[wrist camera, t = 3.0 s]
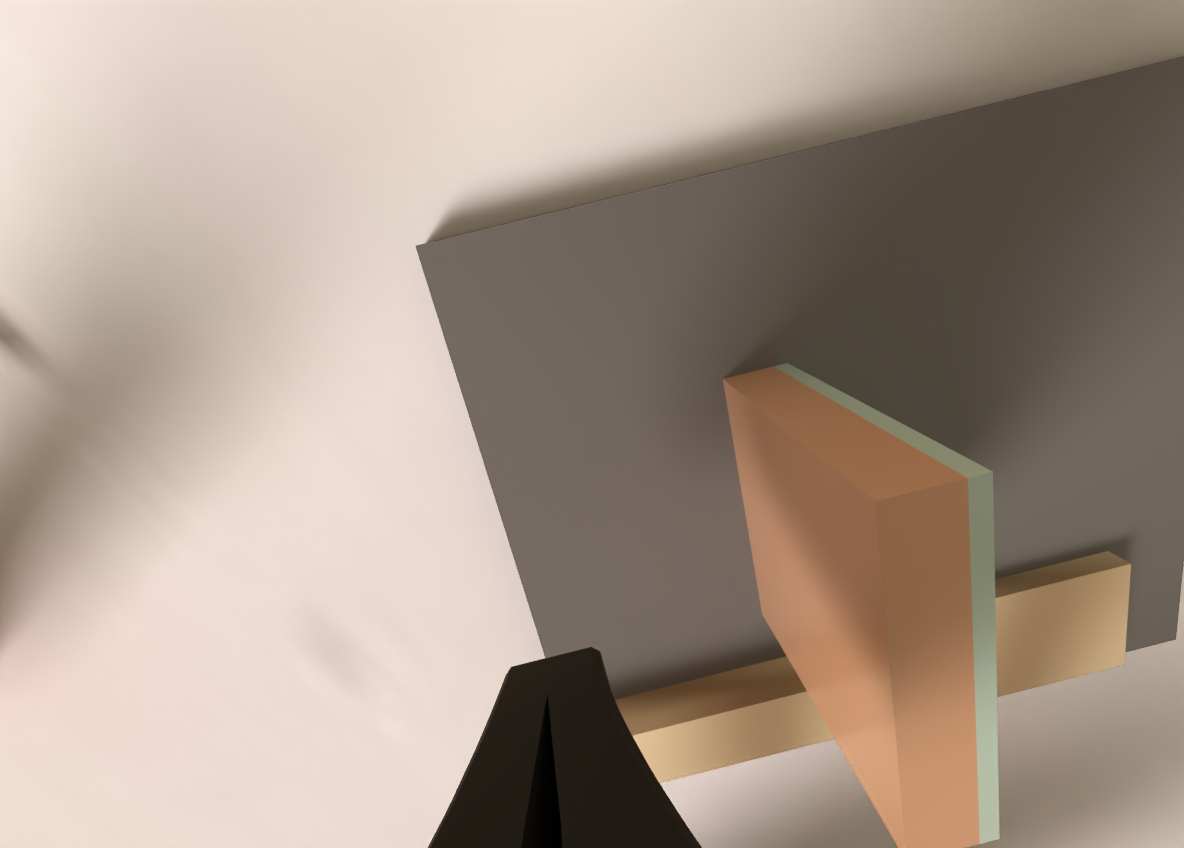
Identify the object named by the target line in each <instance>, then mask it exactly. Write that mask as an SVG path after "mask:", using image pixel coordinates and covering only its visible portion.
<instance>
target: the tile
mask: <svg viewBox="0 0 1184 848" xmlns="http://www.w3.org/2000/svg"><path fill="white" fill-rule="evenodd" d="M723 384H724V390H725V396H726V402H727V408H728V414H729V420H730V426H731V432H732V437H733V443H734V449H735V455H736V461H737V467H738V473H739V479H740V485H741V491H742V497H743V503H744V509H745V515H746V521H747V527H748V533H749V539H750V545H751V551H752V557H753V563H754V569H755V575H756V581H757V587H758V593H759V599H760V604H761V610H762V615H763V617H764V618H765V620H766V622H767V623H768V625H769V627H770V629H771V630H772V632H773V634H774V635H775V637H776V639H777V641H778V642H779V644H780V646H781V647H782V649H783V651H784V653H785V654H786V656H787V658H788V659H789V661H790V663H791V665H792V666H793V668H794V670H795V671H796V673H797V675H798V677H799V678H800V680H801V682H802V683H803V685H804V687H805V689H806V690H807V692H808V694H809V695H810V697H811V699H812V701H813V702H814V704H815V706H816V707H817V709H818V711H819V713H820V714H821V716H822V718H823V719H824V721H825V723H826V725H827V726H828V728H829V730H830V731H831V733H832V735H833V737H834V738H835V740H836V742H837V743H838V745H839V747H840V749H841V750H842V752H843V754H844V755H845V757H846V759H847V761H848V762H849V764H850V766H851V767H852V769H853V771H854V773H855V774H856V776H857V778H858V779H859V781H860V783H861V785H862V786H863V788H864V790H865V791H866V793H867V795H868V797H869V798H870V800H871V802H872V803H873V805H874V807H875V809H876V810H877V812H878V814H879V815H880V817H881V819H882V821H883V822H884V824H885V826H886V827H887V829H888V831H889V833H890V834H891V836H892V838H893V839H894V841H895V843H896V845H897V846H898V848H967V847H971V846H975V845H979V844H982V843H986V842H990V841H994V840H998V839H1000V834H999V778H998V721H997V665H996V608H995V552H994V496H993V471H991V470H989V469H987V468H985V467H983V466H981V465H979V464H978V463H976V462H974V461H972V460H970V459H968V458H966V457H964V456H962V455H961V454H959V453H957V452H955V451H953V450H951V449H949V448H947V447H945V446H944V445H942V444H940V443H938V442H936V441H934V440H932V439H930V438H928V437H927V436H925V435H923V434H921V433H919V432H917V431H915V430H913V429H911V428H909V427H908V426H906V425H904V424H902V423H900V422H898V421H896V420H894V419H892V418H891V417H889V416H887V415H885V414H883V413H881V412H879V411H877V410H875V409H874V408H872V407H870V406H868V405H866V404H864V403H862V402H860V401H858V400H857V399H855V398H853V397H851V396H849V395H847V394H845V393H843V392H841V391H840V390H838V389H836V388H834V387H832V386H830V385H828V384H826V383H824V382H822V381H821V380H819V379H817V378H815V377H813V376H811V375H809V374H807V373H805V372H804V371H802V370H800V369H798V368H796V367H794V366H792V365H790V364H788V363H785V364H781V365H777V366H773V367H769V368H765V369H761V370H757V371H753V372H749V373H745V374H741V375H737V376H733V377H729V378H725V379H723Z"/></svg>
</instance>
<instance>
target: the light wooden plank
mask: <svg viewBox="0 0 1184 848" xmlns="http://www.w3.org/2000/svg"><path fill="white" fill-rule="evenodd" d="M1130 574H1131V563H1129V562H1127V561H1125V560H1124V559H1122V558H1120V557H1118V556H1116V555H1115V554H1113V553H1111V552H1109V551H1106V552H1102V553H1098V554H1094V555H1090V556H1086V557H1082V558H1078V559H1075V560H1071V561H1067V562H1063V563H1059V564H1055V565H1051V566H1047V567H1043V568H1039V569H1035V570H1031V571H1027V572H1023V573H1019V574H1015V575H1011V576H1007V577H1003V578H1000V579H996V580H995V608H996V665H997V697H999V696H1003V695H1007V694H1011V693H1015V692H1019V691H1023V690H1026V689H1030V688H1034V687H1038V686H1042V685H1046V684H1050V683H1054V682H1058V681H1062V680H1066V679H1070V678H1074V677H1077V676H1081V675H1085V674H1089V673H1093V672H1097V671H1101V670H1105V669H1109V668H1113V667H1117V666H1121V665H1124V663H1125V649H1126V634H1127V619H1128V604H1129V589H1130ZM615 701H616V703H617V706H618V708H619V710H620V712H621V715H622V717H623V719H624V721H625V723H626V725H627V727H628V729H629V731H630V732H631V734H632V736H633V738H634V740H635V741H636V743H637V745H638V747H639V749H640V751H641V752H642V754H643V756H644V758H645V760H646V761H647V763H648V765H649V767H650V768H651V770H652V772H653V773H654V775H655V777H656V778H657V780H658V782H659V783H663V782H667V781H671V780H674V779H678V778H682V777H686V776H690V775H694V774H698V773H702V772H706V771H710V770H714V769H718V768H722V767H725V766H729V765H733V764H737V763H741V762H745V761H749V760H753V759H757V758H761V757H765V756H769V755H773V754H776V753H780V752H784V751H788V750H792V749H796V748H800V747H804V746H808V745H812V744H816V743H820V742H824V741H827V740H831V739H835V738H834V737H833V735H832V733H831V731H830V730H829V728H828V726H827V725H826V723H825V721H824V719H823V718H822V716H821V714H820V713H819V711H818V709H817V707H816V706H815V704H814V702H813V701H812V699H811V697H810V695H809V694H808V692H807V690H806V689H805V687H804V685H803V683H802V682H801V680H800V678H799V677H798V675H797V673H796V671H795V670H794V668H793V666H792V665H791V663H790V661H789V659H788V658H787V656H785V657H781V658H777V659H773V660H769V661H766V662H762V663H758V664H754V665H750V666H746V667H742V668H738V669H734V670H730V671H726V672H722V673H718V674H714V675H710V676H706V677H702V678H698V679H695V680H691V681H687V682H683V683H679V684H675V685H671V686H667V687H663V688H659V689H655V690H651V691H647V692H643V693H639V694H635V695H631V696H627V697H624V698H620V699H616V700H615Z"/></svg>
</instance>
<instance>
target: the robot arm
mask: <svg viewBox="0 0 1184 848" xmlns="http://www.w3.org/2000/svg"><path fill="white" fill-rule="evenodd" d="M428 848H702V847H701V846H700V844H699V843H698V842H697V840H696V839H695V837H694V836H693V834H692V833H691V831H690V830H689V828H688V827H687V825H686V824H685V822H684V821H683V819H682V818H681V816H680V815H679V813H678V812H677V810H676V809H675V807H674V805H673V804H672V802H671V801H670V799H669V798H668V796H667V795H666V793H665V791H664V790H663V788H662V787H661V785H660V783H659V782H658V780H657V778H656V777H655V775H654V773H653V772H652V770H651V768H650V767H649V765H648V763H647V761H646V760H645V758H644V756H643V754H642V752H641V751H640V749H639V747H638V745H637V743H636V741H635V740H634V738H633V736H632V734H631V732H630V731H629V729H628V727H627V725H626V723H625V721H624V719H623V717H622V715H621V712H620V710H619V708H618V706H617V703H616V701H615V699H614V697H613V694H612V691H611V688H610V684H609V681H608V677H607V673H606V670H605V666H604V663H603V659H602V655H601V652H600V651H598V650H597V649H595V648H593V647H589V648H585V649H581V650H577V651H573V652H569V653H565V654H561V655H557V656H553V657H549V658H545V659H541V660H537V661H533V662H529V663H525V664H521V665H517V666H513V667H511V668H510V670H509V671H508V673H507V674H506V676H505V679H504V682H503V684H502V687H501V689H500V692H499V694H498V697H497V700H496V702H495V705H494V707H493V709H492V712H491V714H490V717H489V719H488V722H487V724H486V726H485V729H484V731H483V733H482V736H481V738H480V740H479V743H478V745H477V747H476V750H475V752H474V754H473V756H472V758H471V760H470V763H469V765H468V767H467V769H466V771H465V773H464V776H463V778H462V780H461V782H460V784H459V786H458V789H457V791H456V793H455V795H454V797H453V799H452V801H451V803H450V806H449V808H448V810H447V812H446V814H445V816H444V818H443V820H442V822H441V823H440V825H439V827H438V829H437V831H436V833H435V835H434V837H433V839H432V841H431V843H430V845H429V846H428Z"/></svg>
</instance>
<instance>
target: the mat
mask: <svg viewBox="0 0 1184 848" xmlns="http://www.w3.org/2000/svg"><path fill="white" fill-rule="evenodd" d="M416 249H417V252H418V255H419V259H420V262H421V265H422V268H423V271H424V274H425V278H426V281H427V284H428V287H429V290H430V293H431V297H432V300H433V303H434V306H435V309H436V312H437V316H438V319H439V322H440V325H441V328H442V331H443V335H444V338H445V341H446V344H447V347H448V350H449V354H450V357H451V360H452V363H453V366H454V369H455V373H456V376H457V379H458V382H459V385H460V388H461V392H462V395H463V398H464V401H465V404H466V407H467V411H468V414H469V417H470V420H471V423H472V426H473V430H474V433H475V436H476V439H477V442H478V446H479V449H480V452H481V455H482V458H483V461H484V465H485V468H486V471H487V474H488V477H489V480H490V484H491V487H492V490H493V493H494V496H495V499H496V503H497V506H498V509H499V512H500V515H501V518H502V522H503V525H504V528H505V531H506V534H507V537H508V541H509V544H510V547H511V550H512V553H513V556H514V560H515V563H516V566H517V569H518V572H519V575H520V579H521V582H522V585H523V588H524V591H525V594H526V598H527V601H528V604H529V607H530V610H531V613H532V617H533V620H534V623H535V626H536V629H537V632H538V636H539V639H540V642H541V645H542V648H543V651H544V655H545V658H549V657H553V656H557V655H561V654H565V653H569V652H573V651H577V650H581V649H585V648H589V647H593V648H595V649H597V650H598V651H600V652H601V655H602V659H603V663H604V666H605V670H606V673H607V677H608V681H609V684H610V688H611V691H612V694H613V697H614V699H615V700H616V699H620V698H624V697H627V696H631V695H635V694H639V693H643V692H647V691H651V690H655V689H659V688H663V687H667V686H671V685H675V684H679V683H683V682H687V681H691V680H695V679H698V678H702V677H706V676H710V675H714V674H718V673H722V672H726V671H730V670H734V669H738V668H742V667H746V666H750V665H754V664H758V663H762V662H766V661H769V660H773V659H777V658H781V657H785V656H786V654H785V653H784V651H783V649H782V647H781V646H780V644H779V642H778V641H777V639H776V637H775V635H774V634H773V632H772V630H771V629H770V627H769V625H768V623H767V622H766V620H765V618H764V617H763V615H762V610H761V604H760V599H759V593H758V587H757V581H756V575H755V569H754V563H753V557H752V551H751V545H750V539H749V533H748V527H747V521H746V515H745V509H744V503H743V497H742V491H741V485H740V479H739V473H738V467H737V461H736V455H735V449H734V443H733V437H732V432H731V426H730V420H729V414H728V408H727V402H726V396H725V390H724V384H723V379H725V378H729V377H733V376H737V375H741V374H745V373H749V372H753V371H757V370H761V369H765V368H769V367H773V366H777V365H781V364H785V363H788V364H790V365H792V366H794V367H796V368H798V369H800V370H802V371H804V372H805V373H807V374H809V375H811V376H813V377H815V378H817V379H819V380H821V381H822V382H824V383H826V384H828V385H830V386H832V387H834V388H836V389H838V390H840V391H841V392H843V393H845V394H847V395H849V396H851V397H853V398H855V399H857V400H858V401H860V402H862V403H864V404H866V405H868V406H870V407H872V408H874V409H875V410H877V411H879V412H881V413H883V414H885V415H887V416H889V417H891V418H892V419H894V420H896V421H898V422H900V423H902V424H904V425H906V426H908V427H909V428H911V429H913V430H915V431H917V432H919V433H921V434H923V435H925V436H927V437H928V438H930V439H932V440H934V441H936V442H938V443H940V444H942V445H944V446H945V447H947V448H949V449H951V450H953V451H955V452H957V453H959V454H961V455H962V456H964V457H966V458H968V459H970V460H972V461H974V462H976V463H978V464H979V465H981V466H983V467H985V468H987V469H989V470H991V471H993V496H994V552H995V580H996V579H1000V578H1003V577H1007V576H1011V575H1015V574H1019V573H1023V572H1027V571H1031V570H1035V569H1039V568H1043V567H1047V566H1051V565H1055V564H1059V563H1063V562H1067V561H1071V560H1075V559H1078V558H1082V557H1086V556H1090V555H1094V554H1098V553H1102V552H1106V551H1109V552H1111V553H1113V554H1115V555H1116V556H1118V557H1120V558H1122V559H1124V560H1125V561H1127V562H1129V563H1131V574H1130V589H1129V604H1128V619H1127V634H1126V649H1125V652H1128V651H1132V650H1136V649H1140V648H1144V647H1148V646H1152V645H1156V644H1159V643H1163V642H1167V641H1171V640H1175V639H1176V632H1177V622H1178V612H1179V602H1180V592H1181V582H1182V572H1183V562H1184V57H1180V58H1176V59H1172V60H1168V61H1164V62H1159V63H1155V64H1151V65H1147V66H1143V67H1139V68H1135V69H1131V70H1127V71H1123V72H1119V73H1115V74H1111V75H1107V76H1103V77H1099V78H1095V79H1090V80H1086V81H1082V82H1078V83H1074V84H1070V85H1066V86H1062V87H1058V88H1054V89H1050V90H1046V91H1042V92H1038V93H1034V94H1030V95H1026V96H1022V97H1017V98H1013V99H1009V100H1005V101H1001V102H997V103H993V104H989V105H985V106H981V107H977V108H973V109H969V110H965V111H961V112H957V113H953V114H949V115H944V116H940V117H936V118H932V119H928V120H924V121H920V122H916V123H912V124H908V125H904V126H900V127H896V128H892V129H888V130H884V131H880V132H876V133H871V134H867V135H863V136H859V137H855V138H851V139H847V140H843V141H839V142H835V143H831V144H827V145H823V146H819V147H815V148H811V149H807V150H803V151H798V152H794V153H790V154H786V155H782V156H778V157H774V158H770V159H766V160H762V161H758V162H754V163H750V164H746V165H742V166H738V167H734V168H730V169H725V170H721V171H717V172H713V173H709V174H705V175H701V176H697V177H693V178H689V179H685V180H681V181H677V182H673V183H669V184H665V185H661V186H657V187H652V188H648V189H644V190H640V191H636V192H632V193H628V194H624V195H620V196H616V197H612V198H608V199H604V200H600V201H596V202H592V203H588V204H583V205H579V206H575V207H571V208H567V209H563V210H559V211H555V212H551V213H547V214H543V215H539V216H535V217H531V218H527V219H523V220H519V221H515V222H510V223H506V224H502V225H498V226H494V227H490V228H486V229H482V230H478V231H474V232H470V233H466V234H462V235H458V236H454V237H450V238H446V239H442V240H437V241H433V242H429V243H425V244H421V245H417V246H416Z"/></svg>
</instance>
